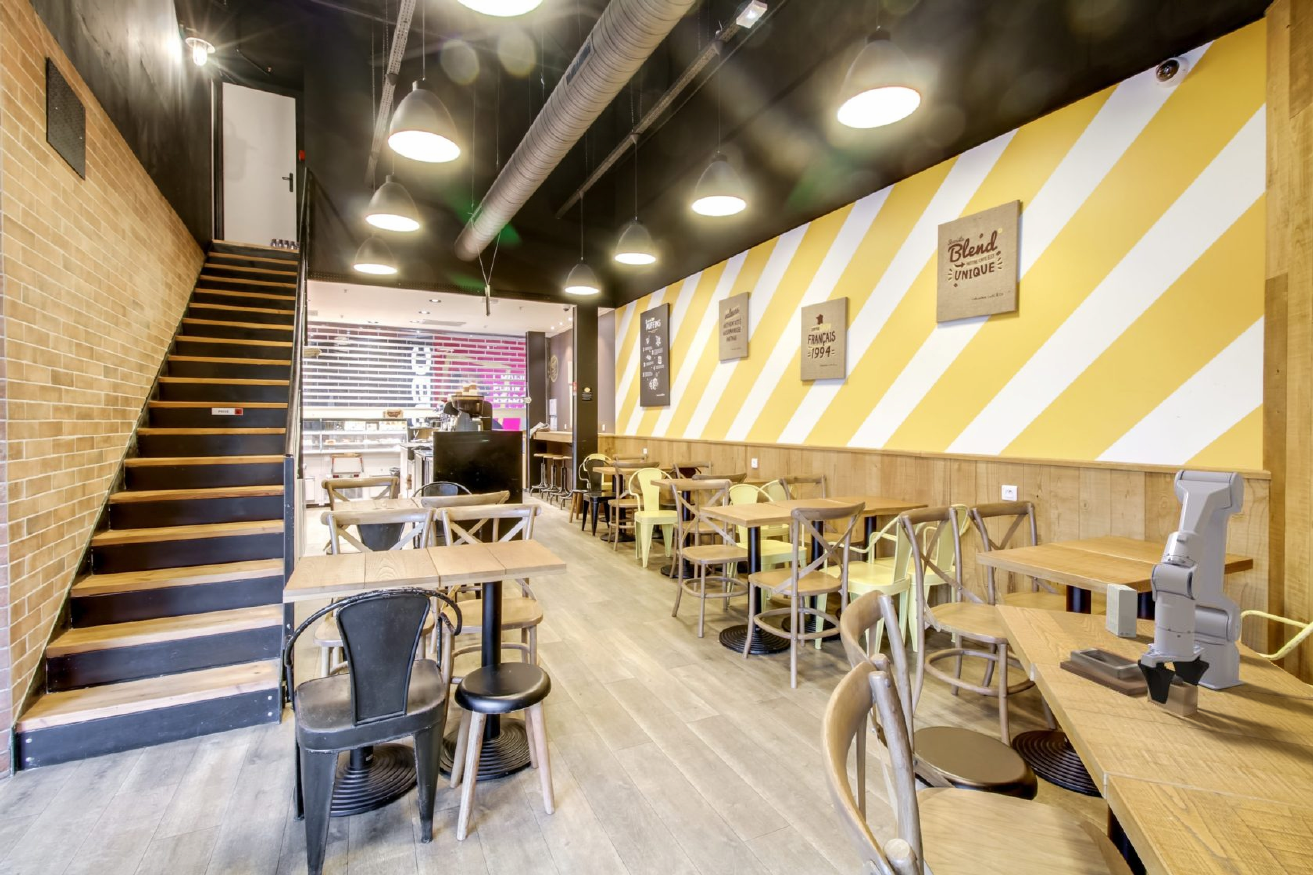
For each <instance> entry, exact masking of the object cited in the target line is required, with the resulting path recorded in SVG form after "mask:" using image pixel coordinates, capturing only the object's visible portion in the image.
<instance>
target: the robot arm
mask: <svg viewBox="0 0 1313 875" xmlns="http://www.w3.org/2000/svg"><path fill="white" fill-rule="evenodd" d="M1173 490H1174V494H1175V496H1176V497H1177V500H1178V502H1179V503H1180V504H1182V507H1181V513H1180V519H1179V525H1178V529H1177V530H1178V531H1173V532H1172V533H1170V534H1168V537H1167V541H1166V543H1165V547H1164V550H1163V553H1162V555H1161V558H1160V559H1161V560H1160V563H1159V564H1154V565H1153V567H1152V570H1151V573H1150V574H1151V575H1150V586H1151V590H1152V601H1153V602H1155V604H1154V605H1155V607H1154V639H1153V640H1154V643H1152V642H1151V643H1147V648H1148V650H1147V651H1146V652H1144V653H1141V656H1140V659H1137V661H1138V666H1139V668H1140V669H1141V671H1142V673H1143V674H1144V676H1145V679H1146V681H1147V684H1148V688H1149V691H1150V695H1151V699H1152V700H1154V701H1156V702H1159V703H1161V704H1166V702H1167V699H1168V693H1169V687H1170V684H1171V681H1172V679H1173V677H1174V676H1178V677H1180V678H1182V679H1183V682H1185V683H1188V684H1191V685H1194V686H1196V687H1198V686H1199V685H1200V686H1203V687H1205V688H1209V689H1211V690H1215V691H1216V690H1220V689H1221V690H1222V689H1226V688H1230V687H1231V688H1232V687H1235V686H1240V685H1244V684H1245V681H1244V680H1241V679H1240V658H1241V656H1240V655H1241V652H1240V649H1239V648H1238V646H1237V644H1236V642H1238V641H1239V640H1240V638H1241V635H1242V634H1241V633H1242V628H1243V627H1242V625H1243V622H1242V617H1241V611H1242V610H1241V607H1240V605H1239V604H1238V603H1237V602H1236V601H1235V600H1234V599H1232V598H1230V597H1229V595H1226V593H1224V583H1225V570H1226V569H1225V568H1226V567H1225V566H1226V554H1227V553H1226V551H1227V538H1228V535H1227V534H1228V525H1229V524H1228V523H1229V522H1230V521H1229V520H1230V517H1231V515H1234V514H1235V515H1236V514H1238V513H1241V512H1242V509H1243V505H1244V495H1245V494H1244V492H1245V480H1244V477H1243V475H1241V473H1239V472H1235V471H1234V472H1222V471H1221V472H1217V471H1203V470H1188V469H1180V470H1179V471H1178V472H1177V473H1176V474H1175V476H1174V482H1173ZM1167 663H1172V665H1173V668H1174V670H1172V669H1170V668H1167V666H1166V665H1165V664H1167Z"/></svg>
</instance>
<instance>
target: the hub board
mask: <svg viewBox="0 0 1313 875" xmlns="http://www.w3.org/2000/svg"><path fill="white" fill-rule="evenodd" d="M1059 663H1060V664H1059V668H1061V669H1063V670H1065V671H1067V672H1070V673H1073V674H1075V675H1077V676H1078V677H1082V678H1084V679H1087V680H1089V681H1091V680H1092V681H1091V682H1094V683H1096V684H1098V683H1099V685H1101V684H1102V685H1101V686H1103V685H1104V686H1103V687H1106V688H1108V687H1110V688H1111V690H1113V691H1116V692H1118V691H1119V692H1118V693H1120V694H1123V695H1126V696H1133V695H1138V694H1142V693H1148V692H1147V691H1148V684H1147V681H1146V679H1145V676H1144V674H1143V673H1142V671H1141V669H1140V668H1139V666H1138V660H1135V659H1132V658H1129V657H1127V656H1124V655H1121V654H1118V653H1115V652H1113V651H1110V650H1107V649H1104V648H1101V647H1099V646H1094V647H1091V648H1085V649H1078V650H1073V651H1070V660H1066V661H1061V662H1059ZM1110 688H1109V689H1110Z"/></svg>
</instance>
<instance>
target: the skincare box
mask: <svg viewBox="0 0 1313 875" xmlns="http://www.w3.org/2000/svg"><path fill="white" fill-rule="evenodd" d="M1105 614H1106V617H1105V629H1106V630H1107V631H1108V632H1110V633H1112V634H1113V635H1115V636H1116V637H1118V638H1119V637H1120V638H1132V639H1135V638H1137V630H1138V628H1137V625H1138V622H1137V620H1138V590H1137V589H1134V588H1132V587H1130V586H1128V585H1126V584H1117V583H1116V584H1114V583H1107V585H1106V613H1105Z"/></svg>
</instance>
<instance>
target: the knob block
mask: <svg viewBox="0 0 1313 875" xmlns="http://www.w3.org/2000/svg"><path fill="white" fill-rule="evenodd" d="M1198 697H1199V686H1197V687H1196V686H1194V685H1191V684H1188V683H1185V682H1183V679H1182V678H1180V677H1178V676H1174V677H1173V679H1172V681H1171V684H1170V687H1169V693H1168V699H1167V702H1166V704H1161V703H1159V702H1156V701H1154V700H1152V699H1151V695H1150V691H1149V688H1148V692H1147V700H1146V702H1147V703H1149V702H1151V703H1153V704H1152V705H1154V704H1155V705H1154V706H1156V705H1157V707H1158V708H1161V709H1164V710H1166V709H1167V711H1169V712H1171V713H1173V712H1174V714H1176V715H1178V716H1181V717H1186V716H1191V715H1196V714H1198V705H1199V704H1198V702H1199V700H1198V699H1199V698H1198ZM1151 703H1150V704H1151Z"/></svg>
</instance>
